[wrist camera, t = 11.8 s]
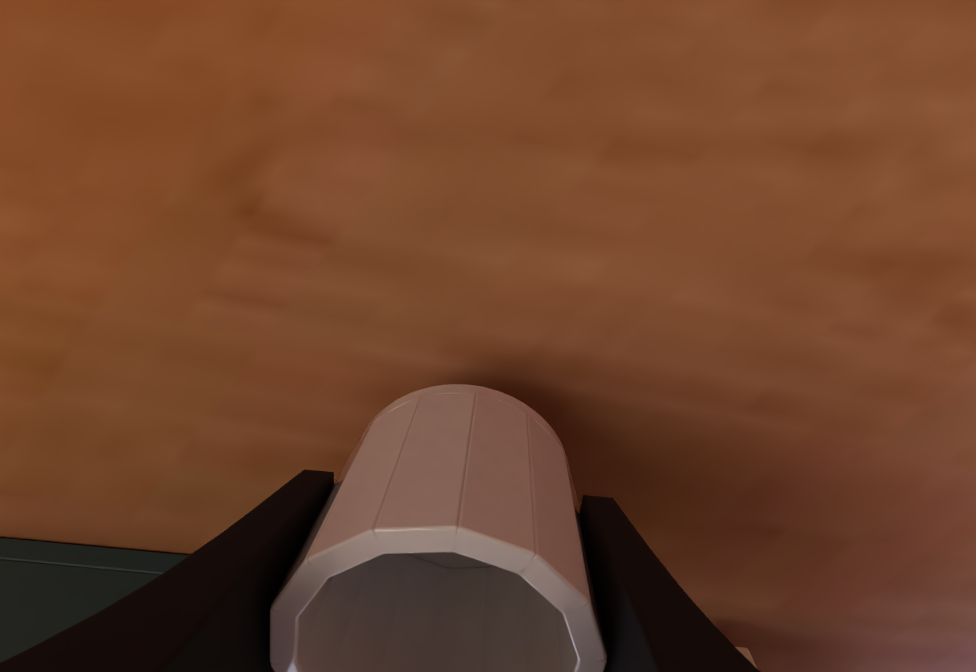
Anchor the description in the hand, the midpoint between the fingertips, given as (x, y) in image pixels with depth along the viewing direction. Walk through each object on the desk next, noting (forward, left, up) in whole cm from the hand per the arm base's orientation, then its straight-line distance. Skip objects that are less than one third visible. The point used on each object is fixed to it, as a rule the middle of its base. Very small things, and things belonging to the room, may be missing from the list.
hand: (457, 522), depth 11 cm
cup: (0, 0, -1) cm, 1 cm away
